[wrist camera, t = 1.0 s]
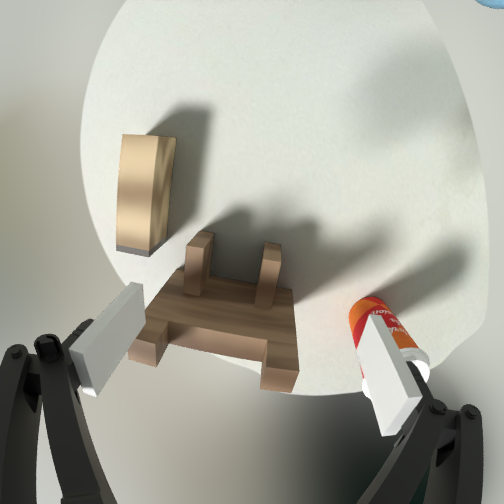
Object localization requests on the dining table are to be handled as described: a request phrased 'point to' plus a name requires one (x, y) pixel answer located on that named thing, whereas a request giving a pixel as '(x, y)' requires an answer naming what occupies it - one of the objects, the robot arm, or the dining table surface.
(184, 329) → the brown notched piece
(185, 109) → the dining table surface
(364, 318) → the coffee cup
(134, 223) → the tan wooden block
